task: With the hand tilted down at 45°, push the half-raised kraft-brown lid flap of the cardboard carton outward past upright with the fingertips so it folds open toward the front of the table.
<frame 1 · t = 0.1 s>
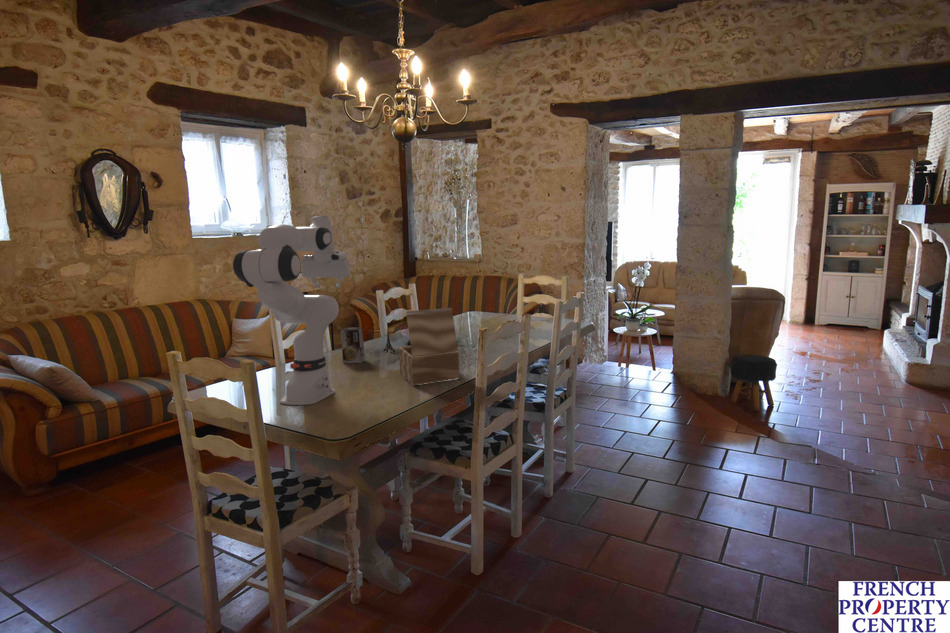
hand: (327, 287, 243), 39 cm above the table, tool pointing down, fingers open, 8 cm apart
eiffel tower figurine: (388, 353, 292), on the table
fruit bowl: (427, 341, 314), on the table
carton: (429, 377, 245), on the table
coffee box: (354, 362, 274), on the table
carton flap: (432, 331, 235), point 21 cm above the table, hinge at 70.0°
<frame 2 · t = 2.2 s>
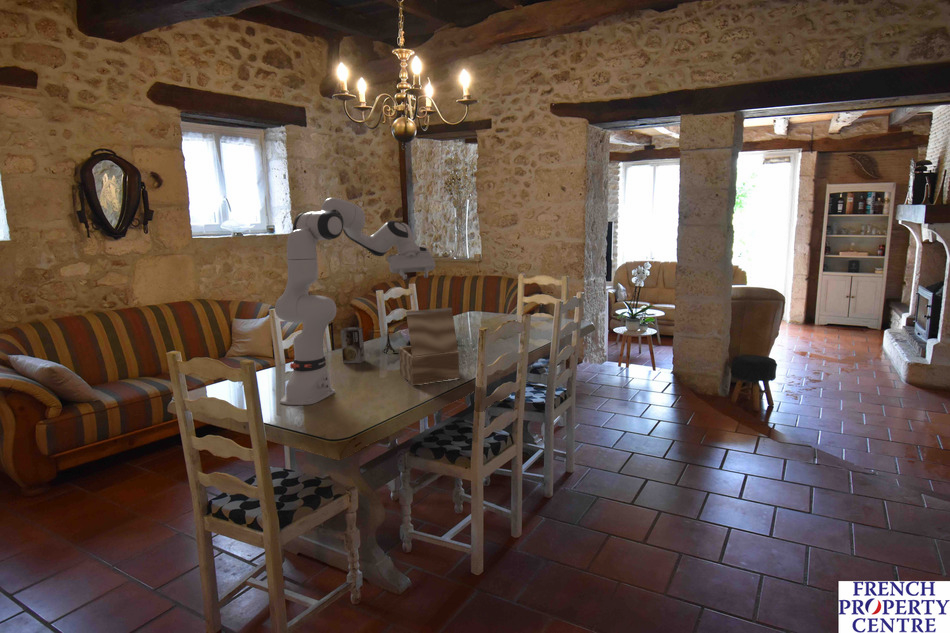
hand: (416, 277, 250), 41 cm above the table, tool tilted 45°, fingers open, 8 cm apart
nothing on the table moved.
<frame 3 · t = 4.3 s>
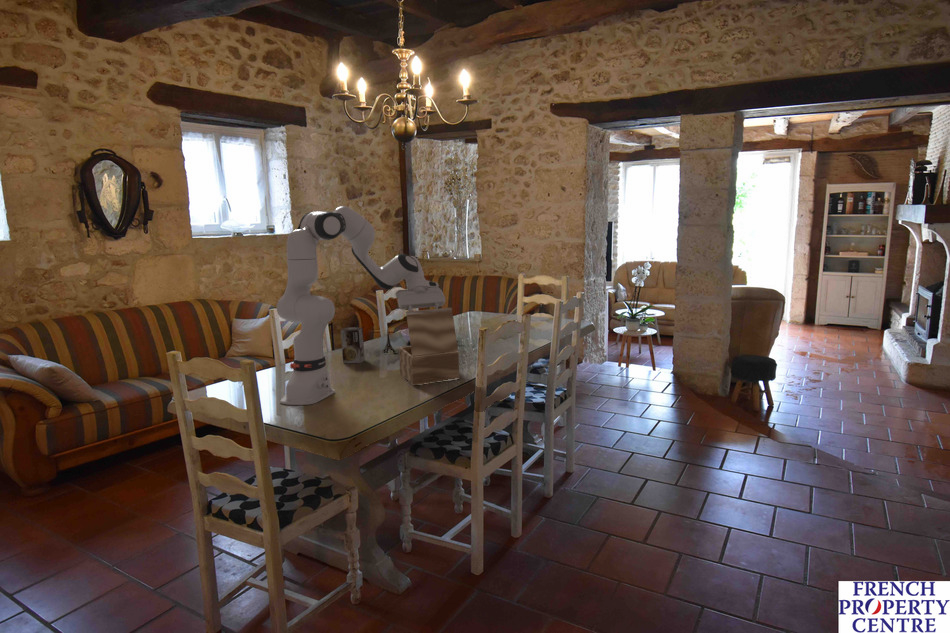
hand: (425, 314, 241), 27 cm above the table, tool tilted 45°, fingers open, 8 cm apart
nothing on the table moved.
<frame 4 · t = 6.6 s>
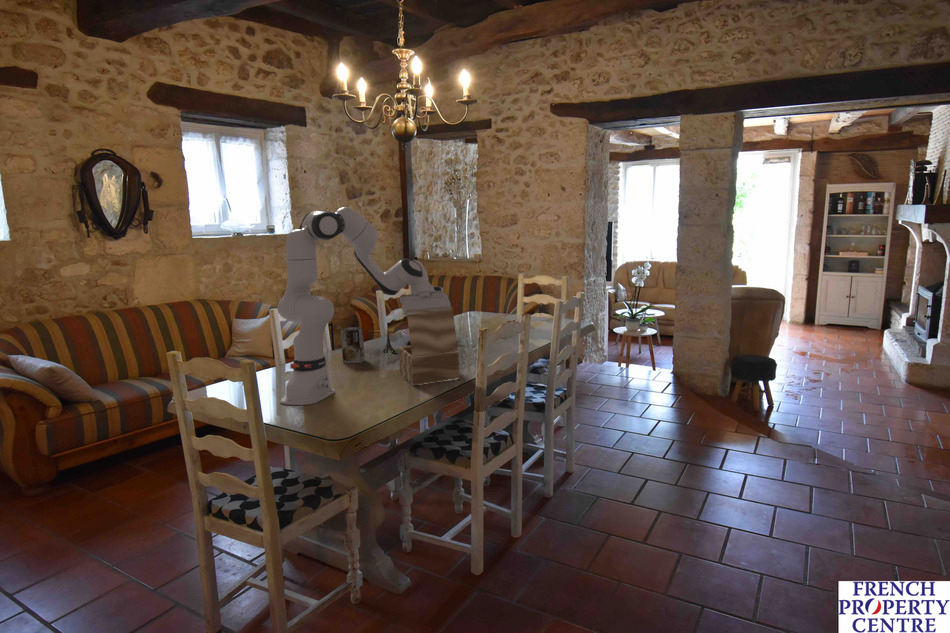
hand: (430, 320, 236), 25 cm above the table, tool tilted 45°, fingers open, 8 cm apart
carton flap: (432, 331, 234), point 21 cm above the table, hinge at 72.8°, touching gripper
everything else where it was.
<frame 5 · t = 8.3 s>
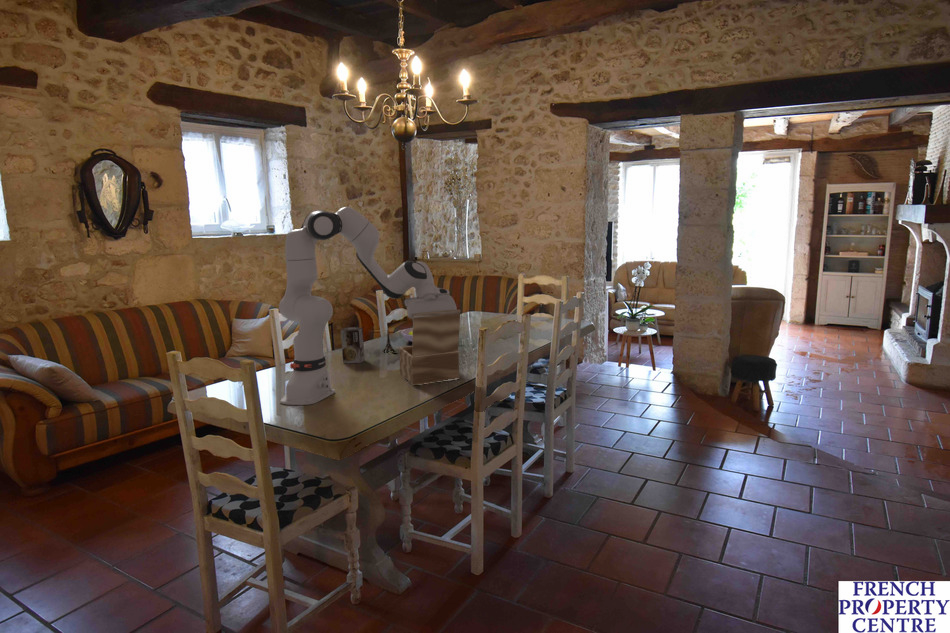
hand: (436, 323, 229), 25 cm above the table, tool tilted 45°, fingers open, 8 cm apart
carton flap: (436, 332, 230), point 21 cm above the table, hinge at 103.5°, touching gripper
everything else where it was.
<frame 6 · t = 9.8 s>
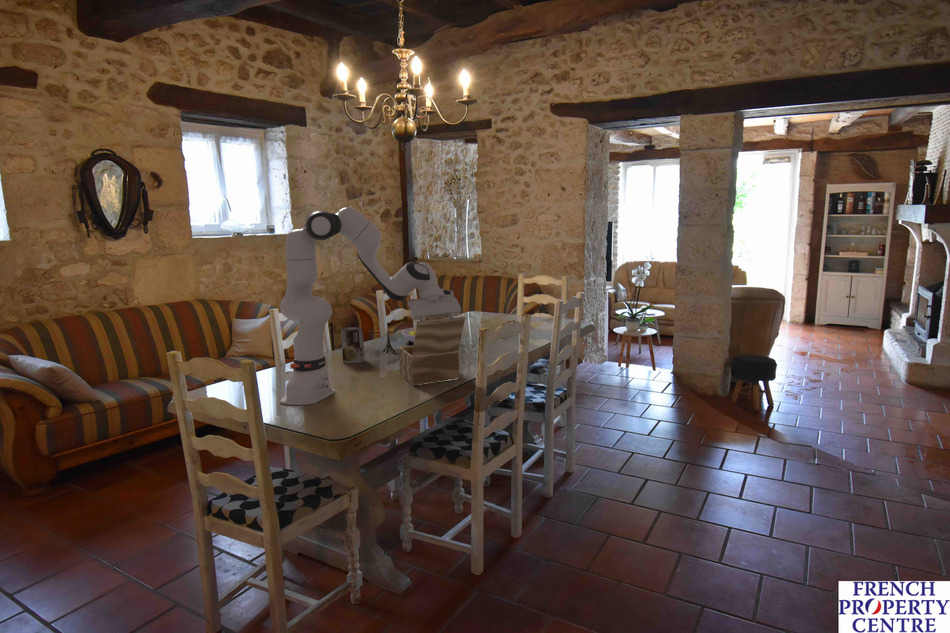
hand: (440, 325, 225), 25 cm above the table, tool tilted 45°
carton flap: (438, 336, 228), point 20 cm above the table, hinge at 121.4°, touching gripper
everything else where it was.
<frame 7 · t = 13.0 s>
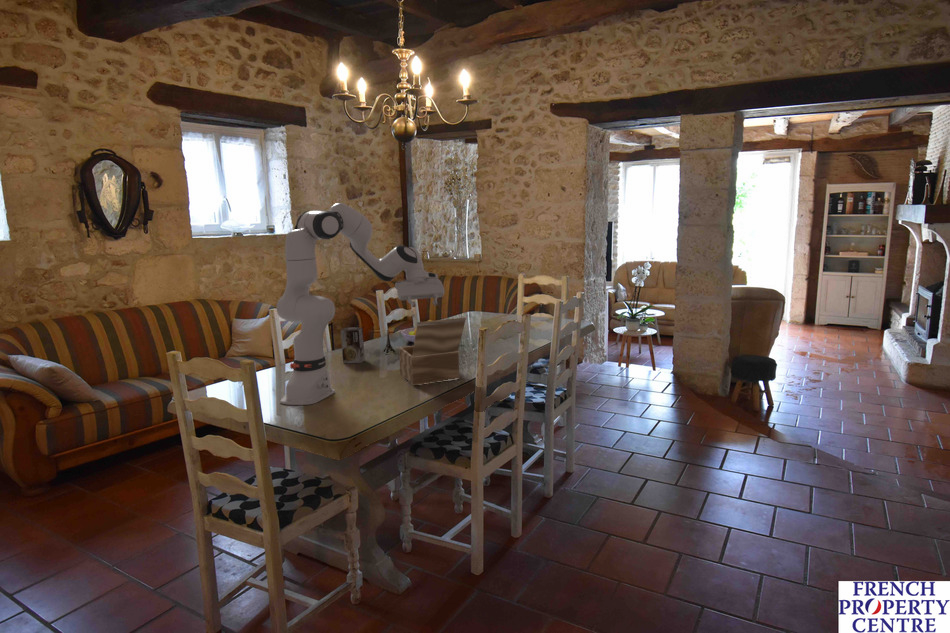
hand: (424, 305, 242), 31 cm above the table, tool tilted 45°, fingers open, 8 cm apart
carton flap: (438, 337, 228), point 20 cm above the table, hinge at 123.1°
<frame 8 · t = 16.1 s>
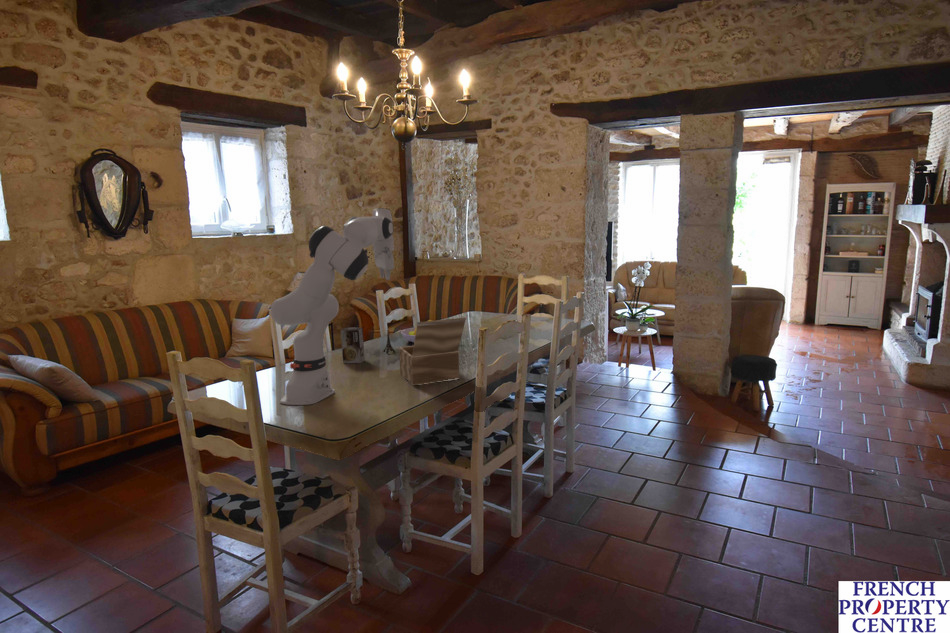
hand: (385, 278, 250), 41 cm above the table, tool pointing down, fingers open, 8 cm apart
at the end: carton flap at +123° (first picture: +70°); coffee box moved 0.2 cm from its start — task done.
